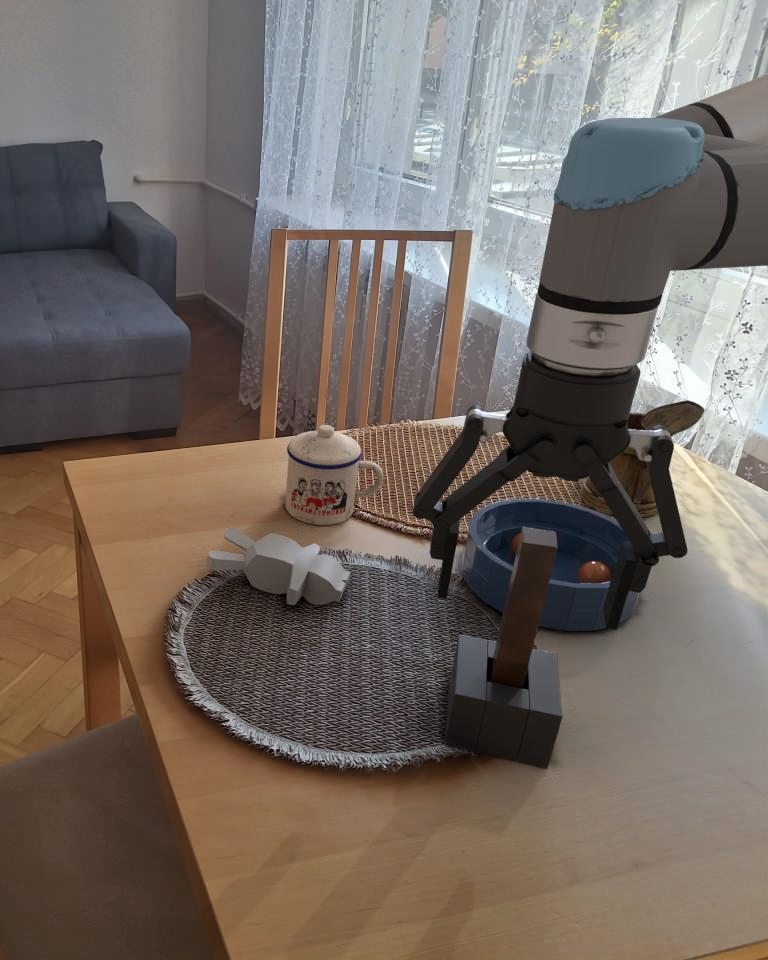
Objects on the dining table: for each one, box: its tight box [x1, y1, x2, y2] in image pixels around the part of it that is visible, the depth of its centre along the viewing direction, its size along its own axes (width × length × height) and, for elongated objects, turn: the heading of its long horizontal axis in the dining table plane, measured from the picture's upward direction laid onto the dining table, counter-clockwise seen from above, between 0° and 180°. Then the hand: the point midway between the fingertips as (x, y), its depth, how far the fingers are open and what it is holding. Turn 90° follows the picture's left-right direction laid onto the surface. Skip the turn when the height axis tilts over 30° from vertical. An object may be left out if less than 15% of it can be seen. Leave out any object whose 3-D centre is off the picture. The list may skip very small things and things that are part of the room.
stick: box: [488, 527, 558, 689], centre depth 72 cm, size 2×2×20 cm
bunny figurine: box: [205, 527, 351, 606], centre depth 96 cm, size 10×5×15 cm
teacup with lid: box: [284, 424, 384, 526], centre depth 108 cm, size 12×9×12 cm
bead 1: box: [511, 533, 521, 556], centre depth 98 cm, size 3×3×3 cm
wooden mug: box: [578, 399, 706, 519], centre depth 104 cm, size 9×14×18 cm, turn 172°
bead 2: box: [578, 561, 611, 583], centre depth 93 cm, size 3×3×3 cm
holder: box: [444, 634, 564, 769], centre depth 76 cm, size 8×8×6 cm
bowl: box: [461, 497, 641, 632], centre depth 94 cm, size 18×18×6 cm
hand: (523, 604), depth 71 cm, fingers open, 12 cm apart
